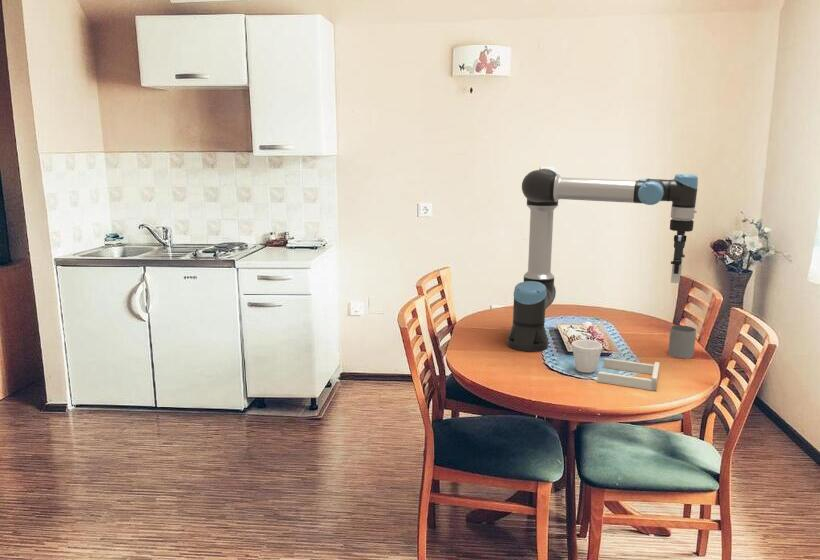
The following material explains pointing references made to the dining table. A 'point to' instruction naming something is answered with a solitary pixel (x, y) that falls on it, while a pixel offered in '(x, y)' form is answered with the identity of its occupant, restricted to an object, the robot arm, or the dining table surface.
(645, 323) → the dining table surface
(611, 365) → the bracket
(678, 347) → the cup
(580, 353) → the cup
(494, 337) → the dining table surface
